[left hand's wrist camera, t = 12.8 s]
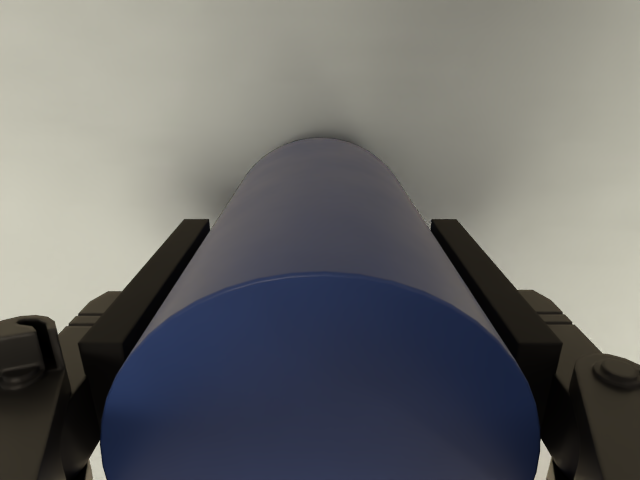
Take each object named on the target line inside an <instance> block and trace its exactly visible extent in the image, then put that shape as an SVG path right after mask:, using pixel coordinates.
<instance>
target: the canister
mask: <svg viewBox="0 0 640 480" xmlns="http://www.w3.org/2000/svg"><path fill="white" fill-rule="evenodd" d="M100 448H101V456H102V465H103V469H104V472H105V475H106V479H107V480H534V478H535V475H536V472H537V466H538V460H539V455H540V423H539V418H538V412H537V407H536V403H535V400H534V397H533V395H532V392H531V389H530V386H529V384H528V381H527V379H526V378H525V376H524V374H523V373H522V371H521V369H520V367H519V366H518V364H517V362H516V361H515V359H514V357H513V356H512V354H511V353H510V351H509V350H508V348H507V347H506V345H505V344H504V342H503V341H502V339H501V338H500V336H499V334H498V333H497V331H496V330H495V328H494V327H493V325H492V324H491V322H490V321H489V319H488V318H487V316H486V315H485V313H484V312H483V310H482V309H481V307H480V305H479V304H478V302H477V301H476V299H475V298H474V296H473V295H472V293H471V292H470V290H469V289H468V287H467V286H466V284H465V283H464V281H463V279H462V278H461V276H460V275H459V273H458V272H457V270H456V269H455V267H454V266H453V264H452V263H451V261H450V260H449V258H448V257H447V255H446V254H445V252H444V250H443V249H442V247H441V246H440V244H439V243H438V241H437V240H436V238H435V237H434V235H433V234H432V232H431V231H430V229H429V228H428V226H427V225H426V223H425V221H424V220H423V218H422V217H421V215H420V214H419V212H418V211H417V209H416V208H415V206H414V205H413V203H412V202H411V200H410V199H409V197H408V195H407V194H406V192H405V191H404V189H403V188H402V186H401V185H400V183H399V182H398V180H397V179H396V177H395V176H394V174H393V173H392V172H391V171H390V169H389V168H388V167H387V166H386V165H385V164H384V163H383V162H382V161H381V160H380V159H379V158H377V157H376V156H375V155H373V154H372V153H370V152H369V151H367V150H365V149H363V148H362V147H360V146H358V145H355V144H352V143H349V142H347V141H342V140H338V139H332V138H308V139H303V140H297V141H294V142H291V143H288V144H285V145H283V146H281V147H279V148H277V149H275V150H273V151H272V152H270V153H268V154H267V155H265V156H264V157H263V158H262V159H261V160H259V161H258V162H257V163H256V164H255V165H254V166H253V167H252V169H251V170H250V171H249V172H248V173H247V175H246V176H245V178H244V179H243V181H242V182H241V184H240V186H239V187H238V189H237V190H236V192H235V193H234V195H233V196H232V198H231V199H230V201H229V202H228V204H227V205H226V207H225V209H224V210H223V212H222V213H221V215H220V216H219V218H218V219H217V221H216V222H215V224H214V225H213V227H212V229H211V230H210V232H209V233H208V235H207V236H206V238H205V239H204V241H203V242H202V244H201V245H200V247H199V248H198V250H197V252H196V253H195V255H194V256H193V258H192V259H191V261H190V262H189V264H188V265H187V267H186V268H185V270H184V272H183V273H182V275H181V276H180V278H179V279H178V281H177V282H176V284H175V285H174V287H173V288H172V290H171V292H170V293H169V295H168V296H167V298H166V299H165V301H164V302H163V304H162V305H161V307H160V308H159V310H158V311H157V313H156V315H155V316H154V318H153V319H152V321H151V322H150V324H149V325H148V327H147V328H146V330H145V331H144V333H143V335H142V336H141V338H140V339H139V341H138V342H137V344H136V345H135V347H134V348H133V350H132V351H131V353H130V354H129V356H128V358H127V359H126V361H125V362H124V364H123V365H122V367H121V368H120V370H119V371H118V373H117V375H116V377H115V379H114V381H113V384H112V386H111V388H110V391H109V393H108V395H107V398H106V402H105V406H104V411H103V415H102V419H101V435H100Z"/></svg>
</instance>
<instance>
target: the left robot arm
mask: <svg viewBox="0 0 640 480" xmlns="http://www.w3.org/2000/svg"><path fill="white" fill-rule="evenodd" d="M209 232H210V226H209V219H184V220H183V221H182V222H181V224H180V225H179V226H178V227H177V228H176V229H175V231H174V232H173V233H172V234H171V235H170V236H169V238H168V239H167V240H166V241H165V242H164V243H163V245H162V246H161V247H160V248H159V249H158V250H157V251H156V253H155V254H154V255H153V256H152V257H151V258H150V260H149V261H148V262H147V263H146V264H145V265H144V267H143V268H142V269H141V270H140V271H139V272H138V274H137V275H136V276H135V277H134V278H133V279H132V281H131V282H130V283H129V284H128V285H127V286H126V287H125V289H124V290H123V291H108V292H106V293H104V294H103V295H101V296H99V297H97V298H96V299H94V300H92V301H90V302H89V303H88V304H87V305H86V306H85V307H84V308H83V309H82V310H81V311H80V313H79V314H78V316H76V317H75V318H74V319H73V320H72V321H71V322H70V323H69V326H66V327H65V328H64V329H63V330H62V331H61V332H60V333H59V334H58V333H57V329H56V325H55V321H53V320H52V319H50V318H49V317H45V316H39V315H30V316H19V317H15V318H10V319H6V320H2V321H0V480H93V476H92V470H91V465H90V461H89V458H90V456H91V454H92V453H93V451H94V449H95V448H96V446H97V444H98V442H99V441H100V435H101V419H102V415H103V411H104V406H105V402H106V398H107V395H108V393H109V391H110V388H111V386H112V384H113V381H114V379H115V377H116V375H117V373H118V371H119V370H120V368H121V367H122V365H123V364H124V362H125V361H126V359H127V358H128V356H129V354H130V353H131V351H132V350H133V348H134V347H135V345H136V344H137V342H138V341H139V339H140V338H141V336H142V335H143V333H144V331H145V330H146V328H147V327H148V325H149V324H150V322H151V321H152V319H153V318H154V316H155V315H156V313H157V311H158V310H159V308H160V307H161V305H162V304H163V302H164V301H165V299H166V298H167V296H168V295H169V293H170V292H171V290H172V288H173V287H174V285H175V284H176V282H177V281H178V279H179V278H180V276H181V275H182V273H183V272H184V270H185V268H186V267H187V265H188V264H189V262H190V261H191V259H192V258H193V256H194V255H195V253H196V252H197V250H198V248H199V247H200V245H201V244H202V242H203V241H204V239H205V238H206V236H207V235H208V233H209ZM431 232H432V234H433V235H434V237H435V238H436V240H437V241H438V243H439V244H440V246H441V247H442V249H443V250H444V252H445V254H446V255H447V257H448V258H449V260H450V261H451V263H452V264H453V266H454V267H455V269H456V270H457V272H458V273H459V275H460V276H461V278H462V279H463V281H464V283H465V284H466V286H467V287H468V289H469V290H470V292H471V293H472V295H473V296H474V298H475V299H476V301H477V302H478V304H479V305H480V307H481V309H482V310H483V312H484V313H485V315H486V316H487V318H488V319H489V321H490V322H491V324H492V325H493V327H494V328H495V330H496V331H497V333H498V334H499V336H500V338H501V339H502V341H503V342H504V344H505V345H506V347H507V348H508V350H509V351H510V353H511V354H512V356H513V357H514V359H515V361H516V362H517V364H518V366H519V367H520V369H521V371H522V373H523V374H524V376H525V378H526V379H527V381H528V384H529V386H530V389H531V392H532V395H533V397H534V400H535V403H536V407H537V412H538V418H539V423H540V440H541V439H542V441H543V443H544V444H545V446H546V448H547V449H548V451H549V453H550V455H551V456H552V457H551V461H550V465H549V470H548V474H547V478H546V480H640V365H639V364H636V363H634V362H632V361H630V360H627V359H625V358H621V357H618V356H614V355H610V354H603V353H602V352H601V351H600V350H599V349H598V348H597V347H596V346H595V345H594V344H593V343H592V342H591V341H590V340H589V339H588V338H587V337H586V336H585V335H584V334H583V333H582V332H581V331H580V330H579V329H578V328H577V327H576V326H575V325H572V321H571V320H570V319H569V318H568V317H567V316H566V315H563V314H562V311H561V310H560V309H559V308H558V307H557V306H556V305H555V304H554V303H553V302H552V301H551V300H550V299H548V298H546V297H544V296H543V295H541V294H539V293H537V292H535V291H534V290H517V289H516V288H515V287H514V286H513V285H512V283H511V282H510V281H509V280H508V279H507V278H506V276H505V275H504V274H503V273H502V272H501V271H500V269H499V268H498V267H497V266H496V265H495V264H494V263H493V261H492V260H491V259H490V258H489V257H488V256H487V254H486V253H485V252H484V251H483V250H482V249H481V247H480V246H479V245H478V244H477V243H476V242H475V240H474V239H473V238H472V237H471V236H470V235H469V234H468V232H467V231H466V230H465V229H464V228H463V227H462V225H461V224H460V223H459V222H458V221H457V220H456V219H432V220H431Z"/></svg>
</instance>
